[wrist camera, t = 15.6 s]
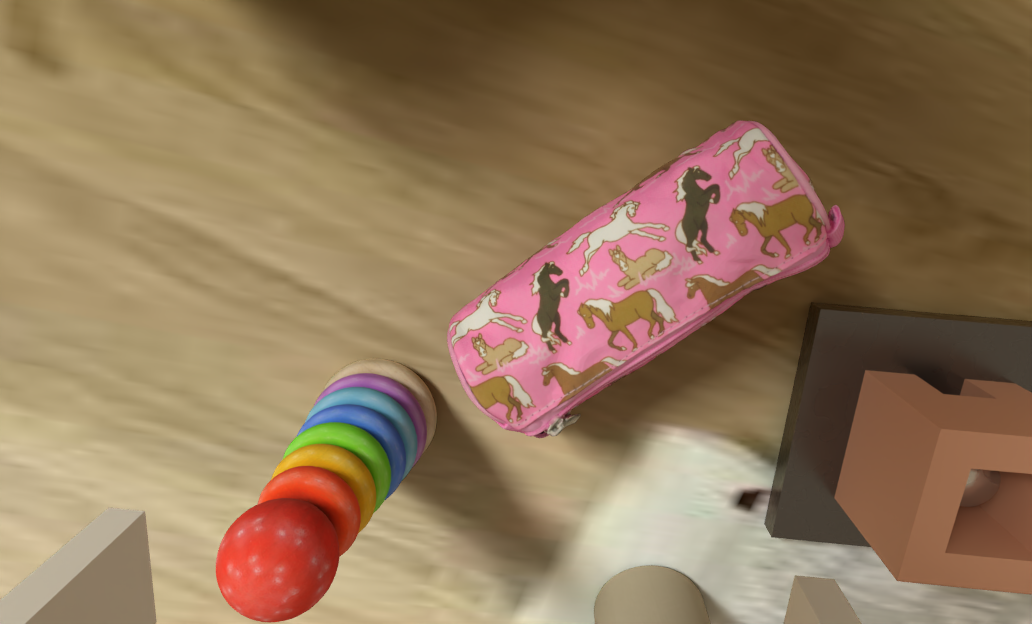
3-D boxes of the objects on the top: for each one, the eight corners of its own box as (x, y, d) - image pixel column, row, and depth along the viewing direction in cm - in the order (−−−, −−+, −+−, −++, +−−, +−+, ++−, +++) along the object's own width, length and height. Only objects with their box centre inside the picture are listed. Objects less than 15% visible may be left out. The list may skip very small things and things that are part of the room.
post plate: (764, 523, 44) (798, 588, 38) (811, 302, 40) (858, 334, 34) (999, 546, 44) (1073, 616, 38) (1073, 324, 39) (1171, 361, 33)
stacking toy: (457, 385, 43) (388, 570, 25) (412, 479, 45) (318, 712, 27) (349, 334, 42) (198, 488, 24) (308, 432, 44) (141, 639, 26)
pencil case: (533, 413, 43) (527, 483, 35) (447, 307, 42) (420, 353, 33) (815, 225, 39) (889, 252, 30) (733, 97, 37) (786, 88, 29)
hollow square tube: (834, 497, 42) (897, 581, 34) (865, 370, 39) (941, 428, 32) (974, 511, 42) (1069, 598, 34) (1014, 383, 39) (1127, 445, 31)
